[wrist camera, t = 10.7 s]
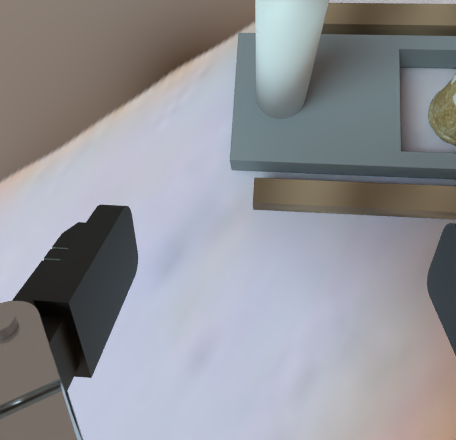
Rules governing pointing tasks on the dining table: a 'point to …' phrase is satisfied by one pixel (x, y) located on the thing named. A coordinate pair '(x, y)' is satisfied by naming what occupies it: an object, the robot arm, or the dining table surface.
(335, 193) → the guide rails
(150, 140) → the dining table surface
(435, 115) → the sprinkles bottle
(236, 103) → the grey tray with post
